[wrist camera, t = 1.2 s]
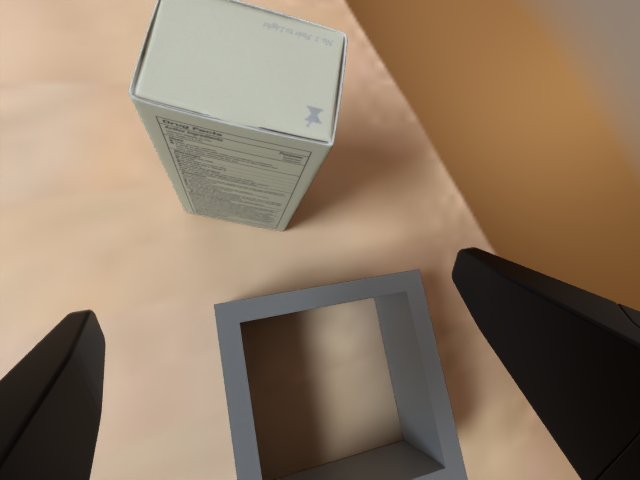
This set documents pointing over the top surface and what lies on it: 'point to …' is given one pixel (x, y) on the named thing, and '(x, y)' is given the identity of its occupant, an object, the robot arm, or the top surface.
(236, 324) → the gray rectangular frame
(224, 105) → the skincare box
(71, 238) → the top surface
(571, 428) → the robot arm
